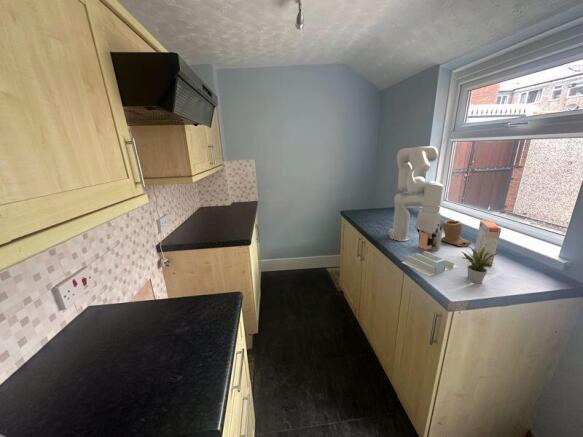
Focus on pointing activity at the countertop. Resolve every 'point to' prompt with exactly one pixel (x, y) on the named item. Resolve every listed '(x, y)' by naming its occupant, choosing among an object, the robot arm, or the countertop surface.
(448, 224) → the tan piece
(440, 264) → the wall shelf
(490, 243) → the cracker box
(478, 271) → the house plant
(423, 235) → the peach cardboard carton
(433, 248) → the coffee box
